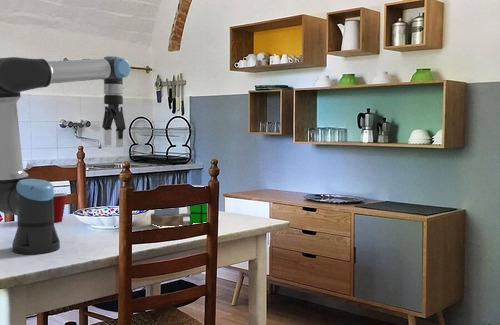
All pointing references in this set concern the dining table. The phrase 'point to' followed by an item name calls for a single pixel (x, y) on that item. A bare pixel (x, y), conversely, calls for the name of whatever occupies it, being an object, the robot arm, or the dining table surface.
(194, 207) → the puzzle cube
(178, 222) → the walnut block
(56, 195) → the plastic cup
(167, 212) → the slate block
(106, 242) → the dining table surface
